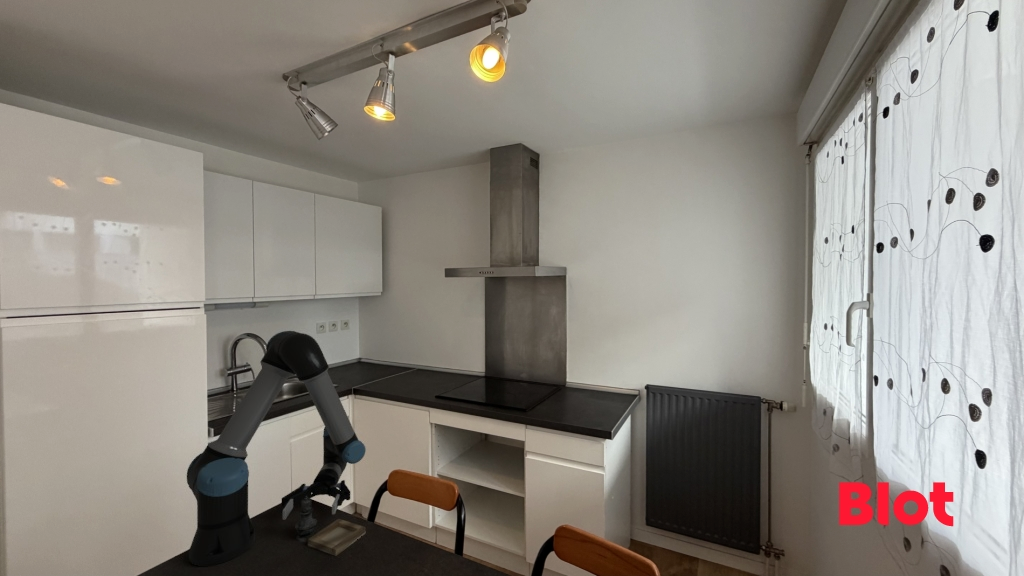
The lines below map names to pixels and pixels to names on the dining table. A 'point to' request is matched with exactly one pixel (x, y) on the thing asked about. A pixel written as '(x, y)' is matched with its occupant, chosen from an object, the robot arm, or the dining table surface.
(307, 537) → the dark grey tall figure
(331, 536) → the square wooden tray
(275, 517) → the dining table surface
